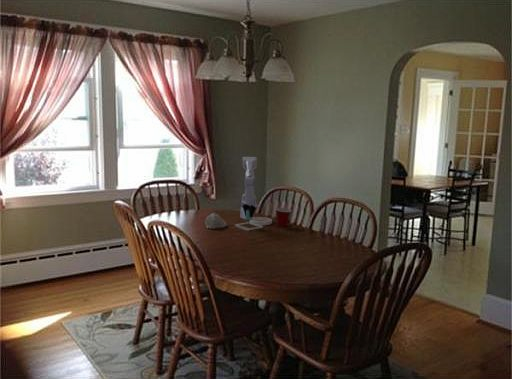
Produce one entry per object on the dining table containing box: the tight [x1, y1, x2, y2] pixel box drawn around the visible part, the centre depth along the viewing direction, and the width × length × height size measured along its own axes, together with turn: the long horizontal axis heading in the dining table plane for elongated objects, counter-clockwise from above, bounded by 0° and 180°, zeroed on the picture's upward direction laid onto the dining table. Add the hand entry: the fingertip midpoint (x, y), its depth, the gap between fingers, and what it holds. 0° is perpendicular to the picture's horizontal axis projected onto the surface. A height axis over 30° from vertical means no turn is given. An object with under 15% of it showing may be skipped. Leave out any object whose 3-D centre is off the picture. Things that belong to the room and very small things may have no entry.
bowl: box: [249, 216, 273, 226], centre depth 314 cm, size 15×15×3 cm
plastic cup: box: [274, 207, 292, 228], centre depth 307 cm, size 11×11×12 cm
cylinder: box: [245, 210, 252, 221], centre depth 301 cm, size 4×4×6 cm
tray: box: [234, 221, 264, 232], centre depth 302 cm, size 14×12×2 cm
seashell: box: [204, 212, 228, 230], centre depth 303 cm, size 12×14×10 cm
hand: (249, 216), depth 301 cm, fingers closed on cylinder, 4 cm apart
